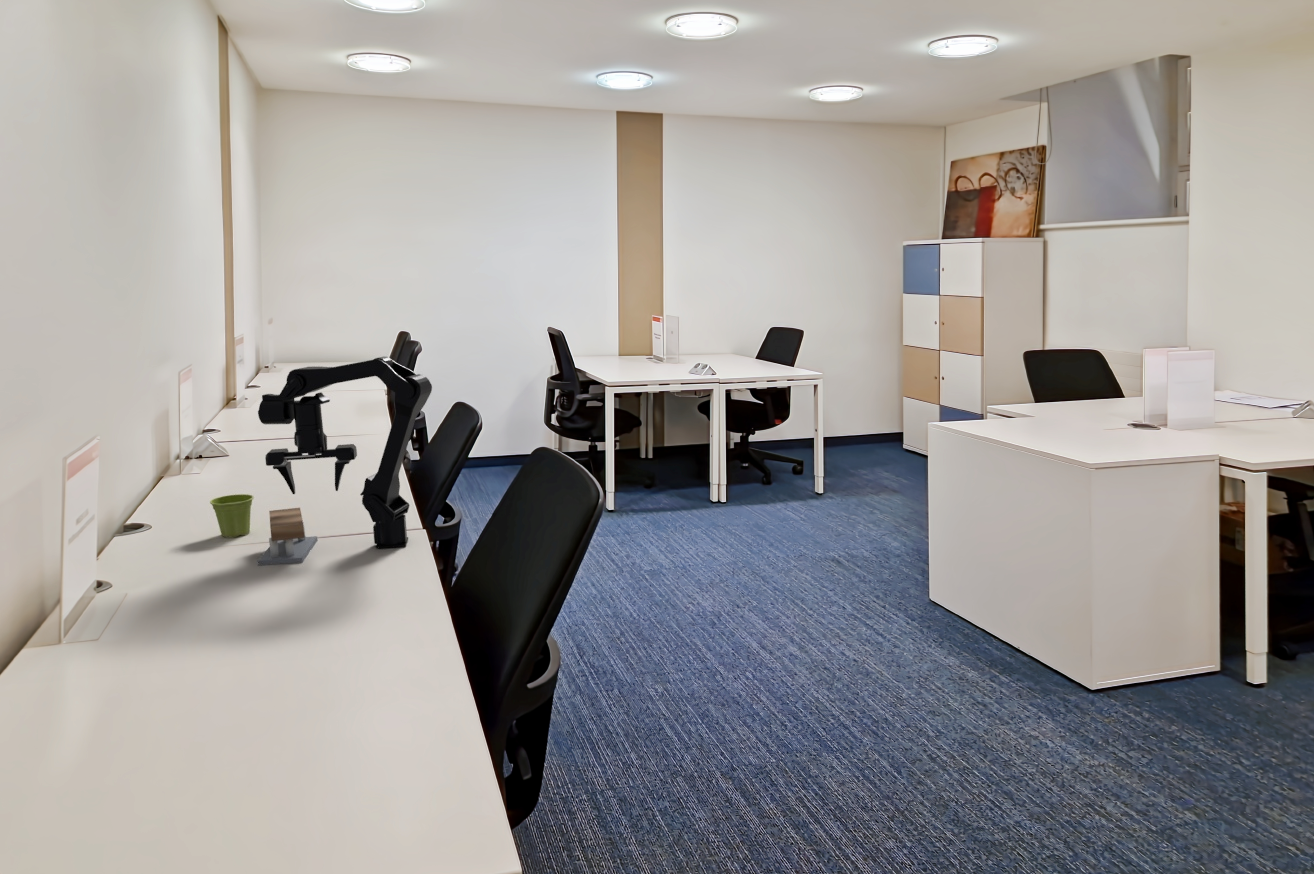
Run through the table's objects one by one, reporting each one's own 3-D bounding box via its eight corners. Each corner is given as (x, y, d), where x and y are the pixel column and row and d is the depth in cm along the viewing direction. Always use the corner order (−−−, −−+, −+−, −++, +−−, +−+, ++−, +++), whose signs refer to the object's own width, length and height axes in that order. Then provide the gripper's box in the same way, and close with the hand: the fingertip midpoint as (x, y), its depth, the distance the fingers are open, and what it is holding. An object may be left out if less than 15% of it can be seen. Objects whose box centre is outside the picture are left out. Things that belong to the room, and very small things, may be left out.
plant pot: (246, 539, 220) (242, 503, 218) (206, 540, 220) (202, 504, 218) (263, 528, 229) (260, 493, 227) (225, 529, 229) (221, 494, 228)
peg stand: (276, 543, 216) (274, 521, 215) (317, 540, 217) (315, 519, 217) (258, 565, 200) (255, 542, 199) (302, 562, 201) (300, 539, 200)
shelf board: (304, 537, 202) (303, 523, 201) (271, 541, 199) (270, 527, 199) (301, 520, 216) (300, 507, 216) (270, 523, 214) (269, 510, 213)
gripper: (356, 416, 220) (362, 481, 223) (271, 421, 217) (278, 487, 219) (350, 423, 209) (357, 492, 212) (261, 428, 206) (269, 498, 209)
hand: (315, 492), depth 213 cm, fingers open, 9 cm apart
